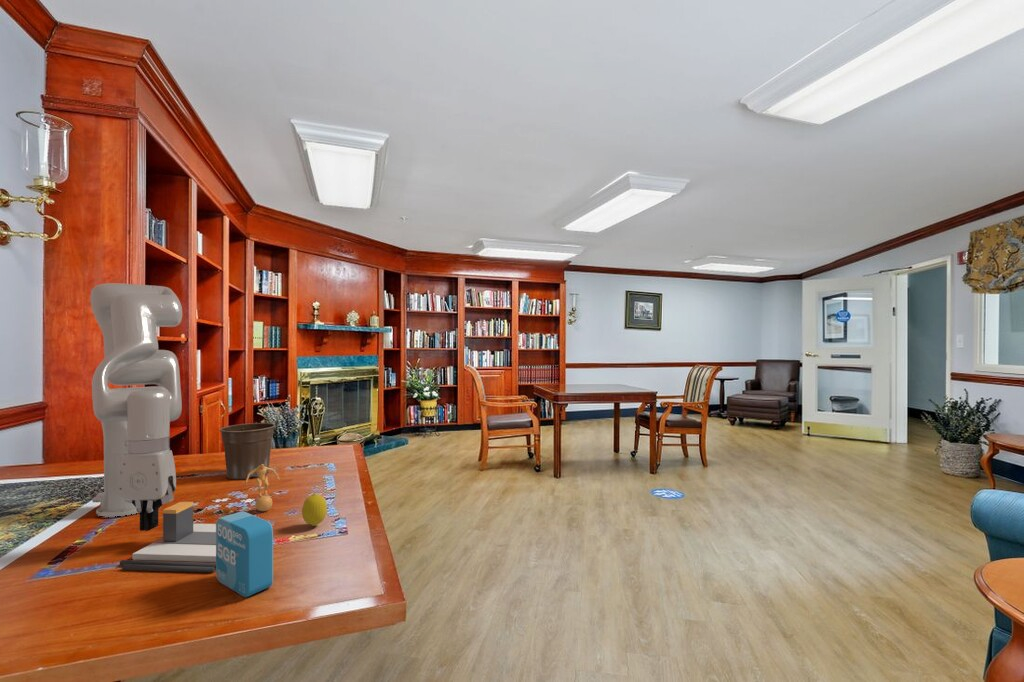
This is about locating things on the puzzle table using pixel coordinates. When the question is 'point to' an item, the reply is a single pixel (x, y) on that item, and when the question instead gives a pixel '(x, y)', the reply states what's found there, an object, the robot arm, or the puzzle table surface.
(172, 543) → the panel
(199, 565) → the cords
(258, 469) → the figurine
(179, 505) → the toggle
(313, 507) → the lemon
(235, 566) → the data package
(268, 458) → the plant pot
